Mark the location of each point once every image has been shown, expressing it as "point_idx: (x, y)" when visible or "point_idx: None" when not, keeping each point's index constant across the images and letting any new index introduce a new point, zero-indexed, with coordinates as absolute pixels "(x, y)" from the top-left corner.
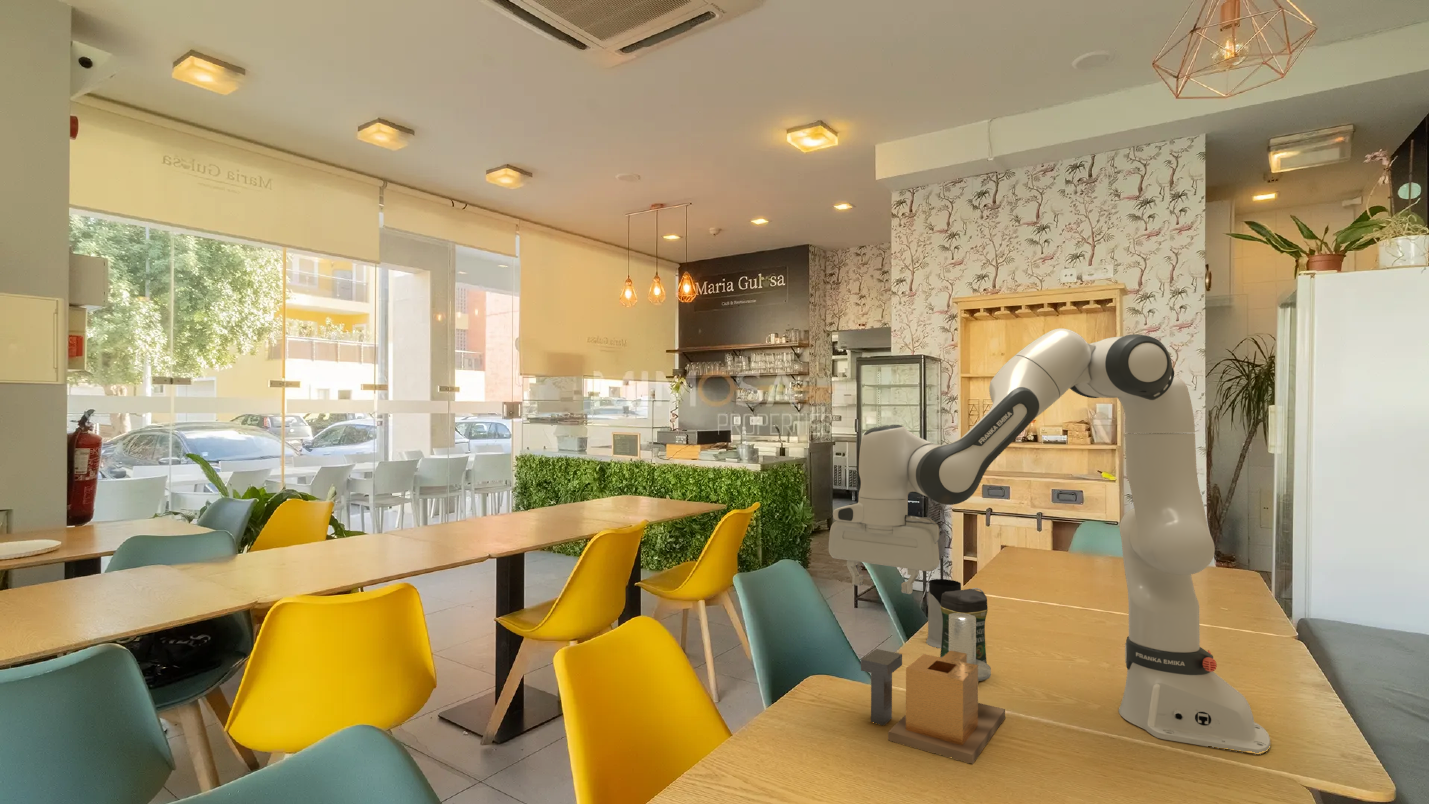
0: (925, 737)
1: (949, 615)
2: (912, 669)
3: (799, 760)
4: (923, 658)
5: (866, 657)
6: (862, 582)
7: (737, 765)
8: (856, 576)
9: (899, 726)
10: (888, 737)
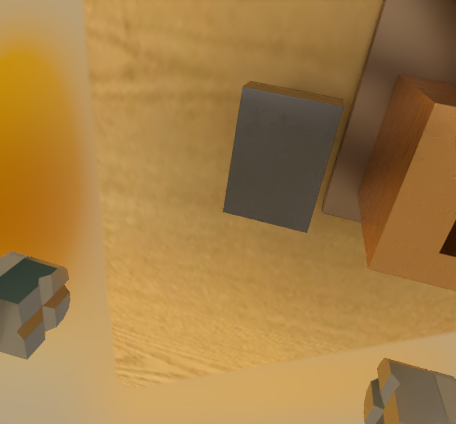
0: None
1: None
2: (388, 271)
3: (205, 307)
4: (431, 157)
5: (233, 190)
6: (56, 280)
7: (143, 335)
8: (5, 352)
9: (342, 181)
10: (322, 207)
